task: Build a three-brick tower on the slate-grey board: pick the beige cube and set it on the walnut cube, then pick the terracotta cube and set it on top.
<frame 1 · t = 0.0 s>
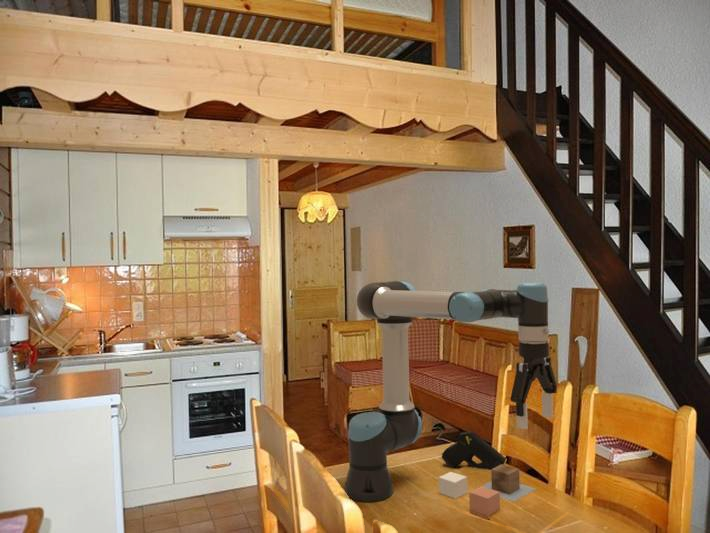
hand: (535, 422, 144), 28 cm above the table, tool pointing down, fingers open, 13 cm apart
brick C: (485, 513, 154), on the table
brick A: (505, 488, 167), point 1 cm above the table, touching board
board: (505, 492, 167), on the table
taser: (474, 470, 187), on the table
beige cube: (453, 496, 166), on the table
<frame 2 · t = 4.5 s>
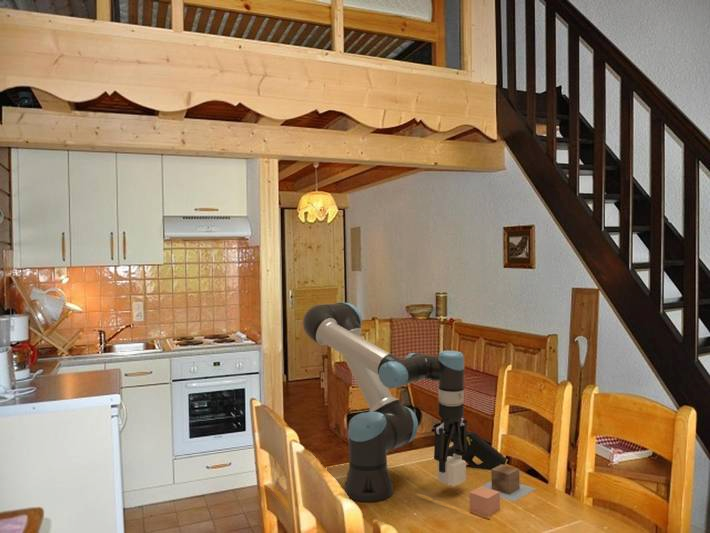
hand: (450, 478, 166), 5 cm above the table, tool pointing down, fingers closed on beige cube, 6 cm apart
beige cube: (451, 480, 166), point 5 cm above the table, touching gripper
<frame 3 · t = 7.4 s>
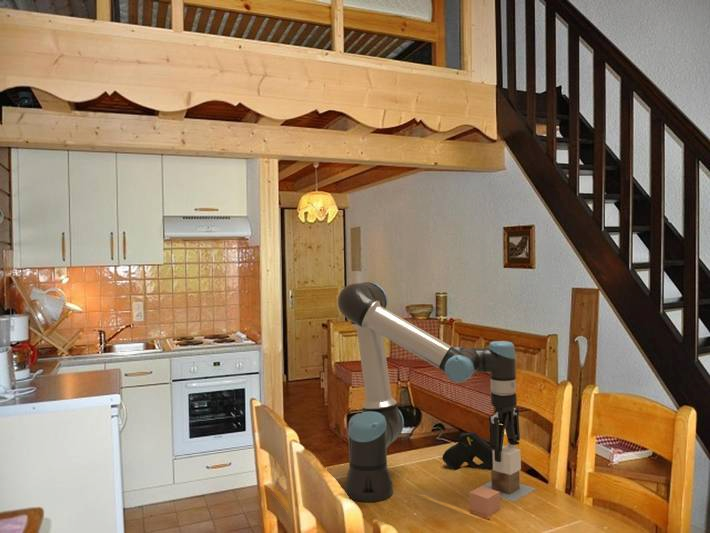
hand: (505, 468, 167), 7 cm above the table, tool pointing down, fingers closed on beige cube, 6 cm apart
brick A: (505, 488, 167), point 1 cm above the table, touching board, beige cube, gripper
beige cube: (506, 469, 167), point 7 cm above the table, touching brick A, gripper
when the fingers open (7 cm above the table, at t = 7.9 s): beige cube stays where it is, resting on brick A.
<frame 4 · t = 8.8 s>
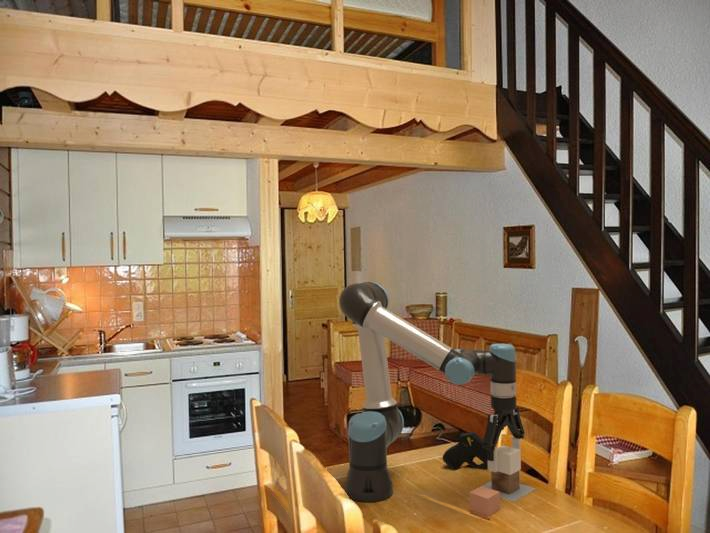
hand: (504, 465, 168), 8 cm above the table, tool pointing down, fingers open, 13 cm apart
brick A: (505, 488, 167), point 1 cm above the table, touching board, beige cube
beige cube: (506, 469, 167), point 7 cm above the table, touching brick A
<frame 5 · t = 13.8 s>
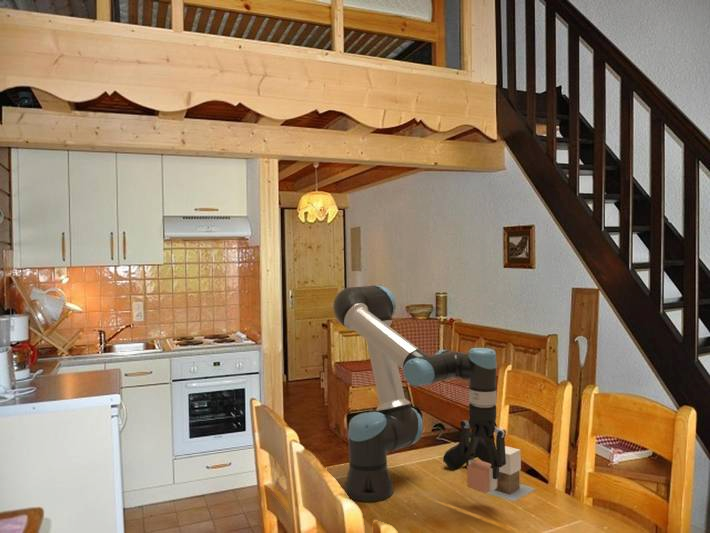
hand: (482, 485, 155), 8 cm above the table, tool pointing down, fingers closed on brick C, 6 cm apart
brick C: (482, 486, 155), point 7 cm above the table, touching gripper
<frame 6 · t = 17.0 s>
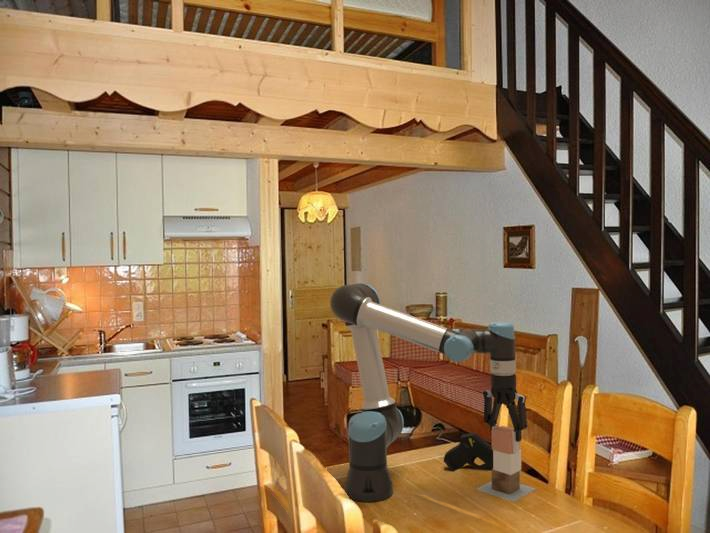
hand: (506, 449, 167), 13 cm above the table, tool pointing down, fingers closed on brick C, 6 cm apart
brick C: (505, 449, 167), point 13 cm above the table, touching beige cube, gripper
beige cube: (507, 469, 167), point 7 cm above the table, touching brick A, brick C, gripper
when the fingers open (13 cm above the table, at t = 17.4 s): brick C stays where it is, resting on beige cube.
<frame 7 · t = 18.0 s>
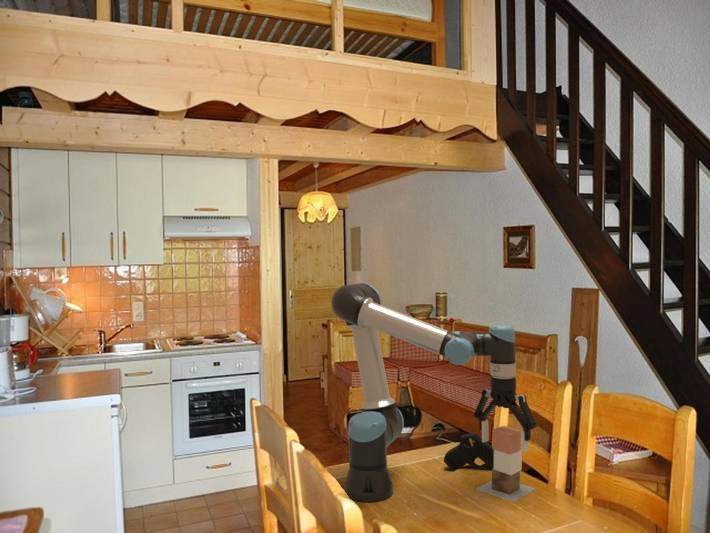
hand: (504, 446, 167), 14 cm above the table, tool pointing down, fingers open, 13 cm apart
brick C: (506, 449, 167), point 13 cm above the table, touching beige cube
beige cube: (507, 469, 167), point 7 cm above the table, touching brick A, brick C
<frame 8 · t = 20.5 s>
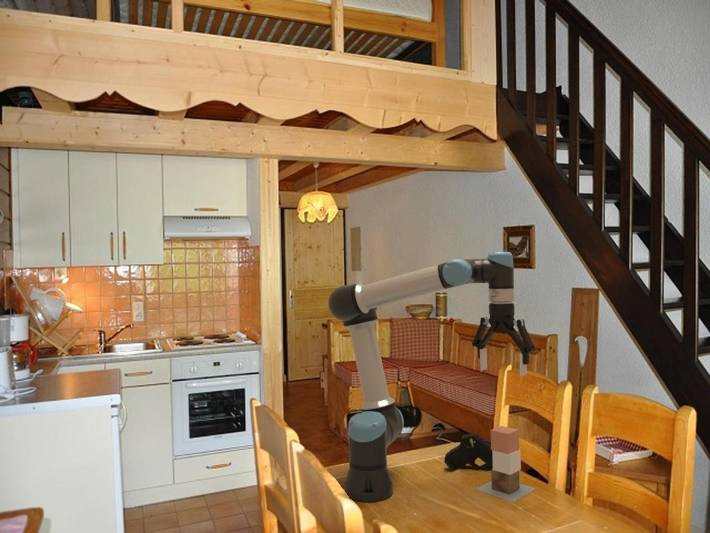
hand: (503, 372, 167), 37 cm above the table, tool pointing down, fingers open, 13 cm apart
at the end: beige cube 0.6 cm off-centre on the brick A, point 6.0 cm above the brick A's base; brick C 0.1 cm off-centre on the brick A, point 12.0 cm above the brick A's base; brick C tilted 0° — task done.
